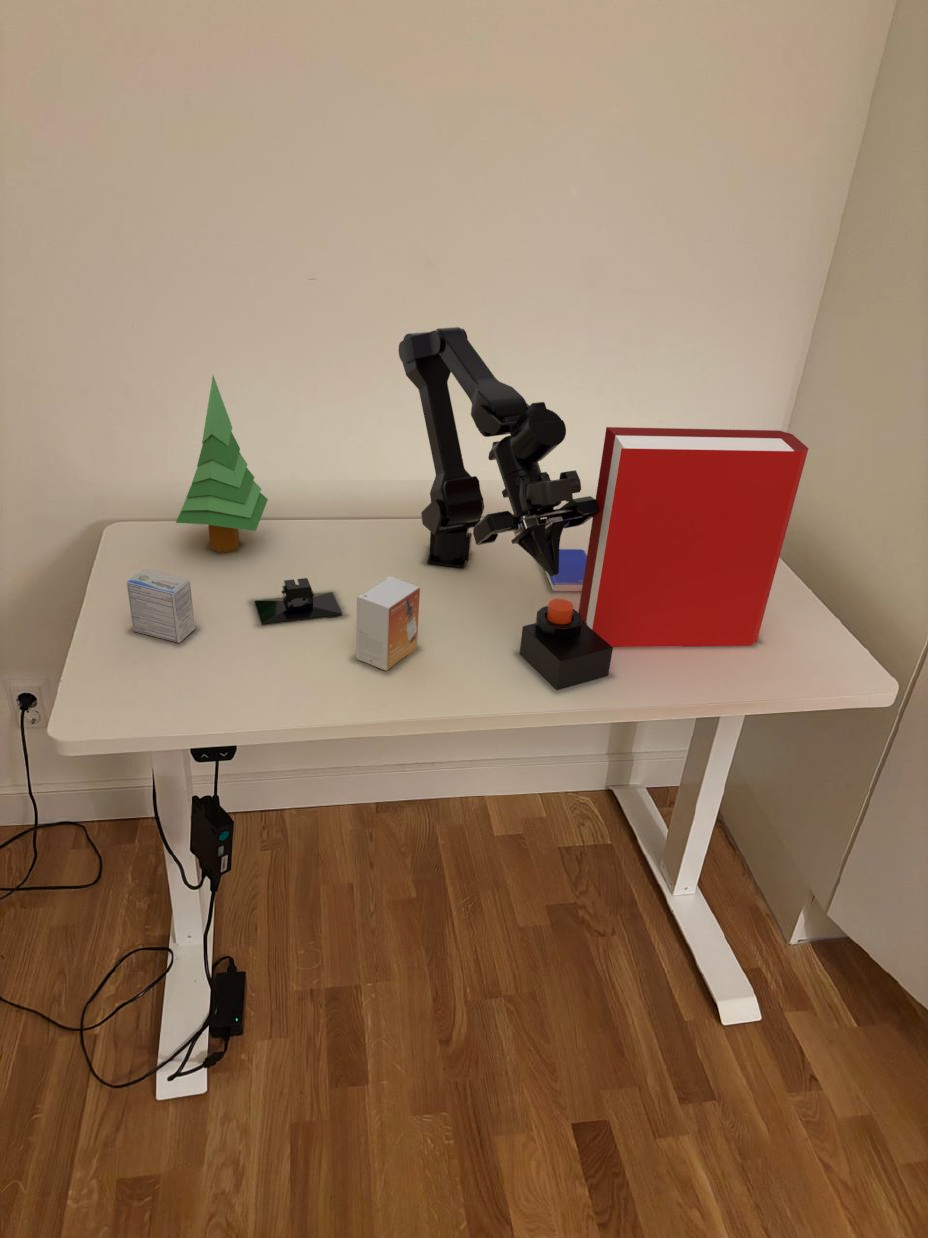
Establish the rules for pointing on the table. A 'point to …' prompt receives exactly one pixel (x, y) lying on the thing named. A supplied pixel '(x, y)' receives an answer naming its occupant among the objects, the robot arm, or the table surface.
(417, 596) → the small box
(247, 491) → the decorative tree
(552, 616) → the button
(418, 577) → the table surface
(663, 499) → the book
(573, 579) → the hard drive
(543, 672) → the button base
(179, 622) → the medicine box
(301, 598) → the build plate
